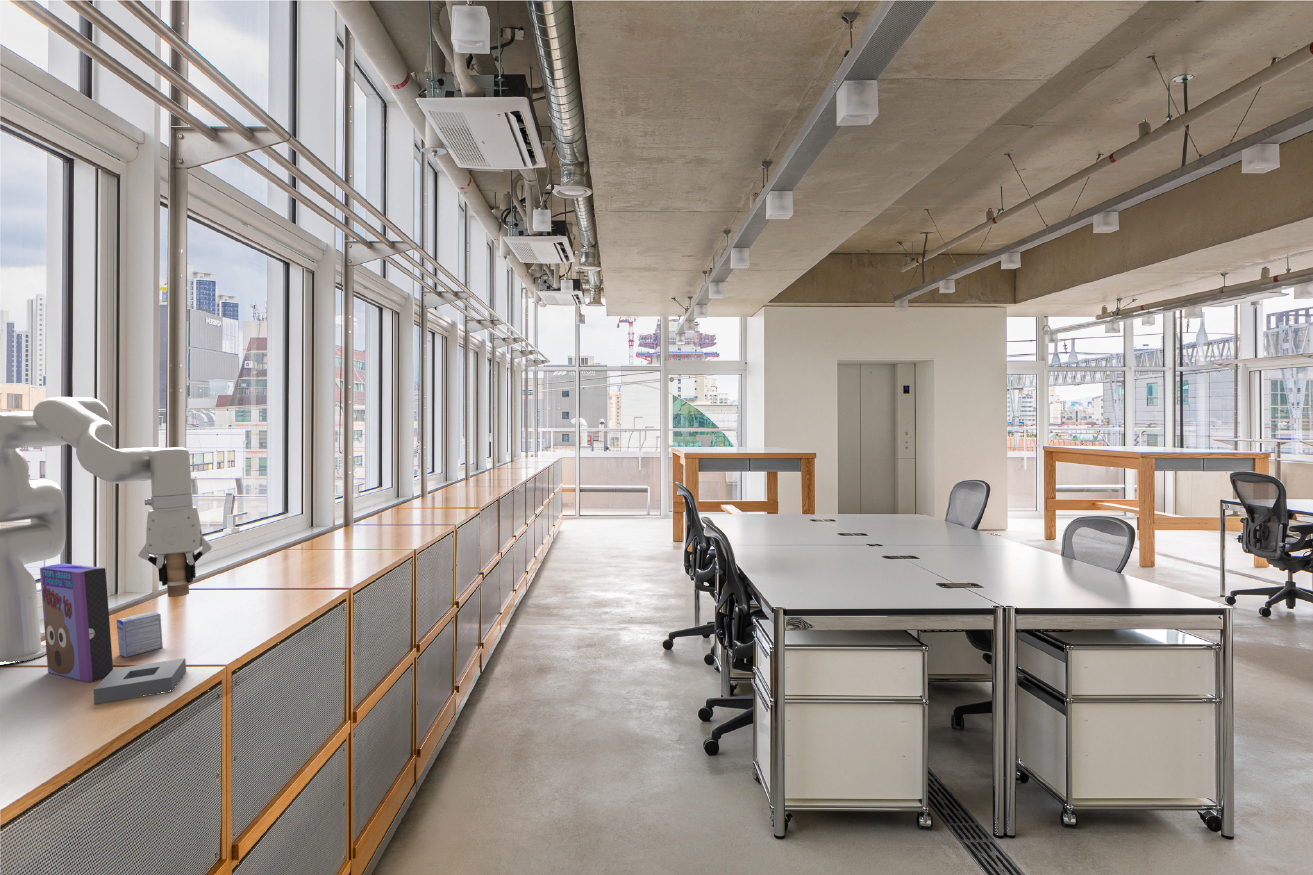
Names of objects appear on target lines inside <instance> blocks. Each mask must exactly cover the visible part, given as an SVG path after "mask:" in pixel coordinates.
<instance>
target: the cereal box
mask: <svg viewBox="0 0 1313 875" xmlns="http://www.w3.org/2000/svg"><path fill="white" fill-rule="evenodd" d="M39 576H40V587H41V588H40V589H41V590H40V591H41V600H42V601H41V602H42V612H43V613H42V614H43V624H44V628H43V629H44V637H45V638H44V639H45V645H46V653H47V654H46V663H47V672H48V674H50V675H54V676H59V677H61V678H62V677H63V678H65V679H71V680H74V681H78V682H82V683H86V684H91V683H94V682H97V681H102V680H103V679H104V678H105V677H106V676H107V675H108V674H109V673H110V672H111V671H112V670H113V669H114V665H113V662H114V661H113V651H112V650H113V649H112V638H111V623H110V612H109V611H110V609H109V599H108V598H109V597H108V586H107V585H108V583H107V572H106V567H99V566H89V565H83V564H82V565H81V564H71V563H56V564H49V565H46V566H42V567H39Z"/></svg>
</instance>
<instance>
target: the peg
mask: <svg viewBox="0 0 1313 875" xmlns="http://www.w3.org/2000/svg"><path fill="white" fill-rule="evenodd" d="M165 557H166V562H165V563H166V572H167V585H166V587H167V597H168V598H178V597H184V596H187V595H189V594H190V583H187V579H186V566H187V562H188V561H187V557H186V554H185V553H177V554H167V555H165Z"/></svg>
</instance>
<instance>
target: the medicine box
mask: <svg viewBox="0 0 1313 875" xmlns="http://www.w3.org/2000/svg"><path fill="white" fill-rule="evenodd" d="M116 630H117V631H116V632H117V640H118V641H117V642H118V653H119V655H120V656H122V657H125V658H127V657H130V656H131V657H132V656H136V655H139V654H140V655H141V654H143V653H147V652H151V651H154V650H159V649H161V648H163V647H164V646H163V645H164V642H163V632H162V618H161V613H159V612H155V611H148V612H145V613H138V614H134V615H130V616H127V617H123V618H118V619H116Z"/></svg>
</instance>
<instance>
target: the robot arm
mask: <svg viewBox="0 0 1313 875" xmlns="http://www.w3.org/2000/svg"><path fill="white" fill-rule="evenodd" d="M109 420H110V413H109V410H108V407H107V406H106V405H105V404H104V403H103V402H102V401H100V400H98V399H96V398H94V397H89V396H88V397H86V396H85V397H83V396H81V397H80V396H79V397H77V396H73V397H71V396H56V397H49V398H46V399H43V400H41V401H39V402H38V403H37V404H36V405H35V406H34V408H33V409H32V411H11V412H10V411H9V412H0V523H10V522H19V521H25V520H30V523H28V524H21V525H12V526H8V527H7V526H6V527H1V528H0V662H4V661H6V662H13V661H15V662H16V661H17V662H18V661H24V662H27V660H28V661H32V660H35V659H37V658H41V657H43V656H45V655H47V653H46V644H42V642H41V641H42V632H41V629H40V628H41V626H40V616H39V614H40V613H39V605H38V604H39V603H38V602H39V601H38V592H37V590H38V589H37V582H36V580H35V577H34V576H33V574H31V572H30V571H29V570H28V569H27V568H26V567H25V565H28V564H32V563H37V562H43V561H47V560H50V559H51V560H52V559H53V558H56V557H59V555H60V554H62V552H63V551H64V549H65V546H66V541H67V540H66V537H67V533H66V532H67V531H66V530H67V529H66V522H67V521H66V498H65V494H64V492H63V490H62V488H61V487H60V486H59V485H58V484H57V483H56V482H54V480H49V479H43V478H42V479H30V475H29V474H30V472H29V471H30V469H29V468H30V467H29V462H28V460H27V458H26V457H25V456H24V454H23V453H22V452H21V451H20V450H19V448H20V449H21V448H39V447H40V448H42V447H59V446H63V445H64V446H65V445H70V446H71V447H72V448H74V449H75V455H76V459H77V460H78V462H79V464H80V466H81V467H82V468H83V469H84V470H86V471H87V472H89V474H91V475H94V476H95V477H96V478H99V479H100V480H102V481H105V482H108V483H111V484H126V483H135V482H143V481H145V482H146V481H150V486H151V496H150V498H145V499H144V506H150V507H151V510H148V512H147V518H146V528H145V529H146V530H145V532H146V534H145V537H146V539H145V540H146V541H145V544H144V546H143V547H142V549H141V551H139V553H138V555H137V556H138V557H139V558H141V559H142V560H146V561H148V563H151V564H152V565H154V566H155V567H156V568H157V571H158V581H159V582H161V586H162V587H164V586H167V572H166V557H165V555H167V554H177V553H185V554H186V557H187V566H186V579H187V583H189V584H191V583H192V582H193V581H194V579H196V576H197V575H196V574H197V573H196V563H197V561H199V560H200V558H201V557H203V556H204V555H205V554H207V553H208V552H211V550H212V549H213V547H212V545H211V544H210V543H209V542H208V541H207V540H206V539H205V538H204V536H203V533H202V526H201V525H202V524H201V520H200V516H199V512H198V509H197V506H194V505H193V504H194V502H193V488H192V474H191V473H192V472H191V459H190V452H189V450H188V449H187V448H184V447H158V446H157V447H155V446H152V447H150V446H148V447H130V448H117V449H116V448H113V447H111V446H110V443H112V441H113V438H114V436H115V429H114V426H113V425H112V424H111V423H110V422H109ZM200 548H202V549H200ZM199 549H200V550H199ZM197 550H199V551H198V552H196V553H195V551H197ZM34 658H35V659H34Z"/></svg>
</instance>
